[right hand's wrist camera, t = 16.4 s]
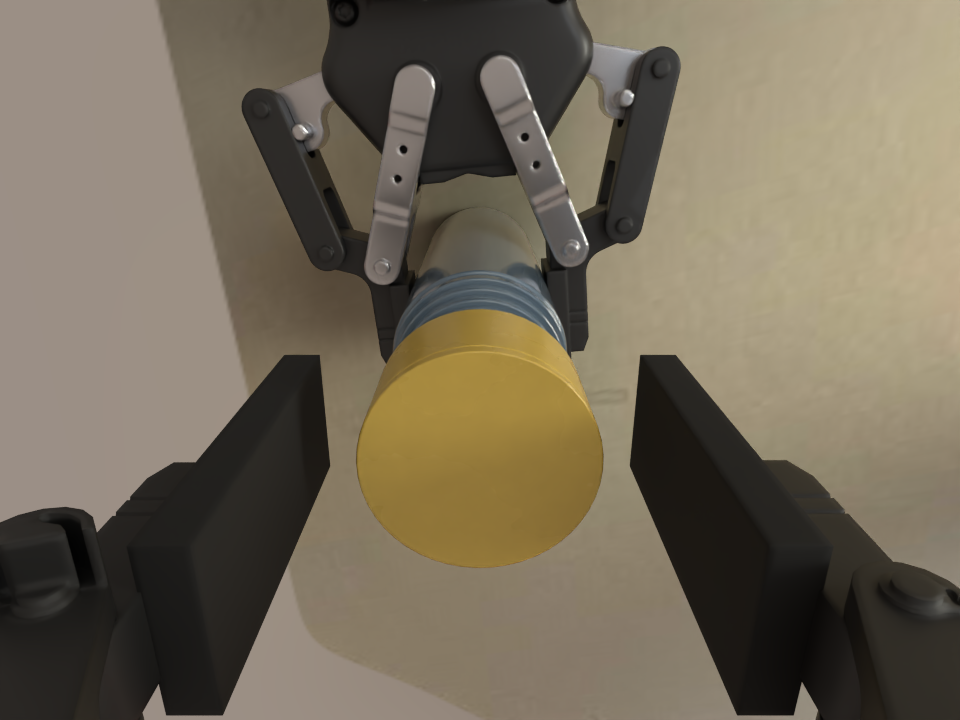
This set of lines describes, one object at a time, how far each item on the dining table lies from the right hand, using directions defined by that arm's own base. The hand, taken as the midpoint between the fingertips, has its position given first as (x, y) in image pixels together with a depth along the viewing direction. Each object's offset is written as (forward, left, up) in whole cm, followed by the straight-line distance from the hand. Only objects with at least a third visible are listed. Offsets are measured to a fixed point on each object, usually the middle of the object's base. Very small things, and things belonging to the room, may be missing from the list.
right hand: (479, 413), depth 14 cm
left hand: (+2, +1, -10) cm, 10 cm away
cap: (0, 0, 0) cm, 0 cm away
